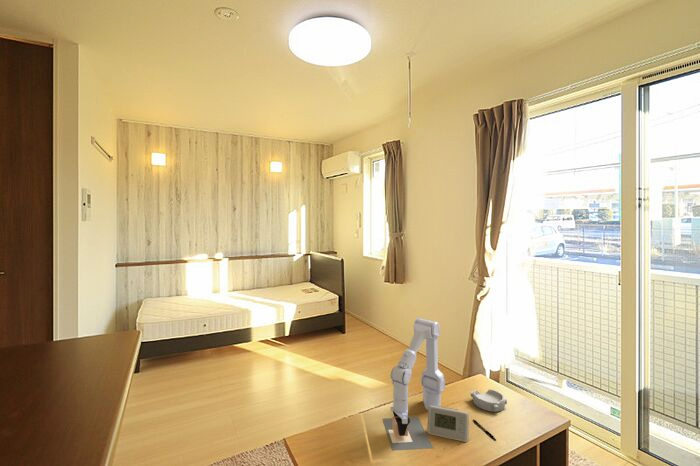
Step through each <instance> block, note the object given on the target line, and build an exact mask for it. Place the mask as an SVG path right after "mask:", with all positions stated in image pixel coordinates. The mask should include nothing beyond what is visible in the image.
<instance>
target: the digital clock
mask: <svg viewBox="0 0 700 466" xmlns="http://www.w3.org/2000/svg"><path fill="white" fill-rule="evenodd" d="M469 423H470V414H469V412H467V411H465V410H459V409H457V408H451V407H445V406H433V405H429V407H428V410H427V424H426V425H427V427H426V434H427V435H431V436H436V437H441V438H444V439H445V438H446V439H450V440H453V441H454V440H455V441H459V442H463V443H464V442H465V443H467V442H469V433H470V430H469V429H470V425H469Z"/></svg>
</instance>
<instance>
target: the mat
mask: <svg viewBox="0 0 700 466" xmlns="http://www.w3.org/2000/svg"><path fill="white" fill-rule="evenodd" d="M407 418H409V419H410V423H409V424H408V436H401V437H395V434H394V432H393V417H391V418H390V417H389V418H382V422H383V426H384V428H385V432H386V435H387V439H388V441H389V445H390V447H391V451H406V450H409V451H410V450H424V449H434V446H433V444H432V442H431V439H430V438H429V436H428V433H427V431H426V429H425V428H424V426H423V424H422V423H421V420H420V419H419V418H420V417H419V416H410V417H409V416H407Z"/></svg>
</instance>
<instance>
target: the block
mask: <svg viewBox="0 0 700 466" xmlns="http://www.w3.org/2000/svg"><path fill="white" fill-rule="evenodd" d="M392 418H393V432H394V434H395V437H401V436H400V435H399V432H398V425H397V422H396V420H395V417H394V416H392ZM404 436H408V426H407V429H406V432H405V435H404Z"/></svg>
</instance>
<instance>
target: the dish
mask: <svg viewBox="0 0 700 466" xmlns="http://www.w3.org/2000/svg"><path fill="white" fill-rule="evenodd" d="M469 392H470V396H471V397H472V401H473V404H474V405H475V406H476V407H478V408H479V409H481V410H484V411H487V412H493V413H498V412H501V411H503V410H504V409H505V407H506V405H508V399H507V398H505V396H504V395H503V394H502V393H501V392H499V391H497V390H495V389H492V388H490V389H488V390H487V391H486V392H484V393H481V392H479V391H478V390H477V389H475V390H473V391H469Z"/></svg>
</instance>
